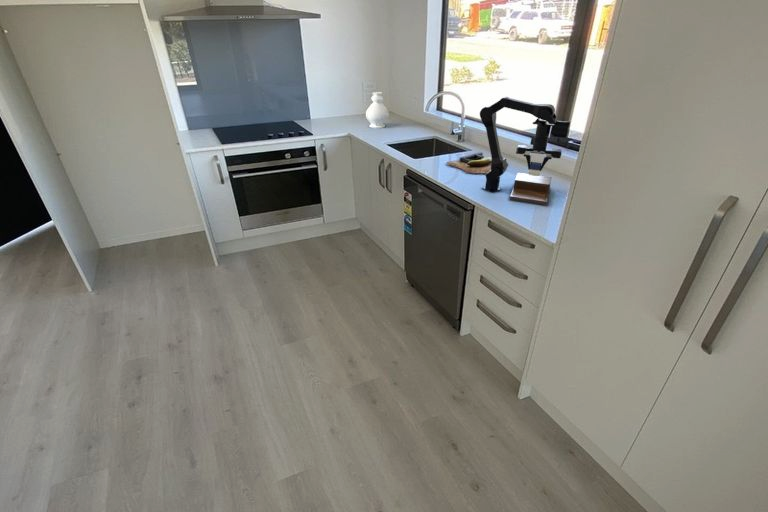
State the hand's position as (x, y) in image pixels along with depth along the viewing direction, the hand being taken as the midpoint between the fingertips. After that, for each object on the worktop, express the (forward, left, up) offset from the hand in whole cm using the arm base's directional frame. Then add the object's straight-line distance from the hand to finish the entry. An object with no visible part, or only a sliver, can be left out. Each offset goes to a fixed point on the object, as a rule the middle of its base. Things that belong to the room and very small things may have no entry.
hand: (534, 170), depth 180 cm
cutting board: (+19, +47, -11) cm, 51 cm away
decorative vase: (+31, +164, -13) cm, 167 cm away
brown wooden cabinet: (+3, +2, -13) cm, 13 cm away
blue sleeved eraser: (-1, -1, -1) cm, 1 cm away
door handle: (+23, +52, -13) cm, 58 cm away
